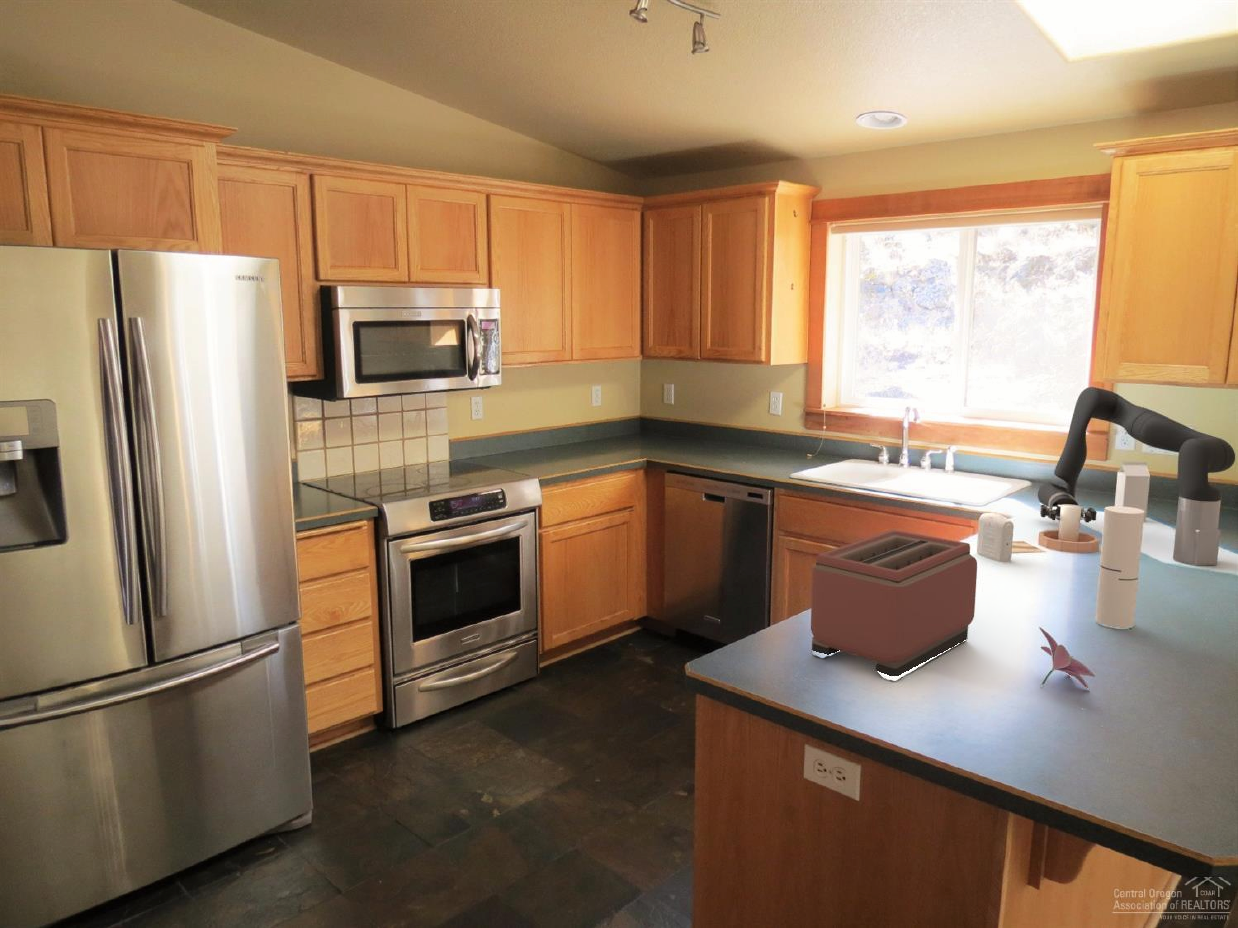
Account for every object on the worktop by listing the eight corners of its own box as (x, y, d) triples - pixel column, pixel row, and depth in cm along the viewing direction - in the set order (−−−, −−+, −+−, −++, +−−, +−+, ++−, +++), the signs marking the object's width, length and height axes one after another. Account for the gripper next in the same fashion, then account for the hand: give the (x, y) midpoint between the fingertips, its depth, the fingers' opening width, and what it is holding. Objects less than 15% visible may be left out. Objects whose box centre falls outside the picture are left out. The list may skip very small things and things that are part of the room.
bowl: (1110, 552, 236) (1110, 542, 235) (1058, 554, 234) (1058, 543, 234) (1076, 539, 251) (1077, 529, 250) (1027, 540, 249) (1028, 530, 249)
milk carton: (1145, 522, 271) (1151, 463, 268) (1121, 521, 272) (1126, 463, 269) (1137, 517, 278) (1142, 460, 275) (1113, 516, 279) (1118, 459, 276)
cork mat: (1046, 553, 236) (1046, 551, 236) (1005, 554, 235) (1005, 553, 235) (1022, 542, 248) (1023, 541, 248) (983, 543, 247) (983, 542, 247)
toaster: (983, 635, 175) (989, 539, 172) (895, 686, 151) (900, 575, 147) (897, 613, 189) (901, 523, 185) (804, 657, 165) (807, 555, 161)
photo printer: (1013, 562, 227) (1016, 517, 225) (1000, 563, 226) (1003, 518, 224) (986, 552, 237) (989, 509, 235) (974, 553, 236) (976, 510, 234)
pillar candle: (1082, 545, 240) (1085, 507, 238) (1064, 546, 240) (1067, 508, 238) (1071, 541, 245) (1074, 504, 243) (1054, 541, 245) (1057, 504, 243)
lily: (1091, 712, 142) (1116, 662, 142) (1022, 677, 145) (1047, 628, 146) (1071, 704, 154) (1095, 657, 154) (1008, 671, 157) (1031, 625, 157)
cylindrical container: (1098, 615, 185) (1108, 504, 181) (1136, 622, 181) (1146, 509, 177) (1092, 624, 180) (1101, 510, 176) (1130, 632, 175) (1141, 515, 171)
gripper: (1038, 492, 256) (1044, 503, 241) (1090, 495, 251) (1100, 506, 236) (1036, 516, 257) (1042, 529, 242) (1088, 520, 252) (1098, 532, 237)
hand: (1071, 518), depth 239 cm, fingers open, 8 cm apart
